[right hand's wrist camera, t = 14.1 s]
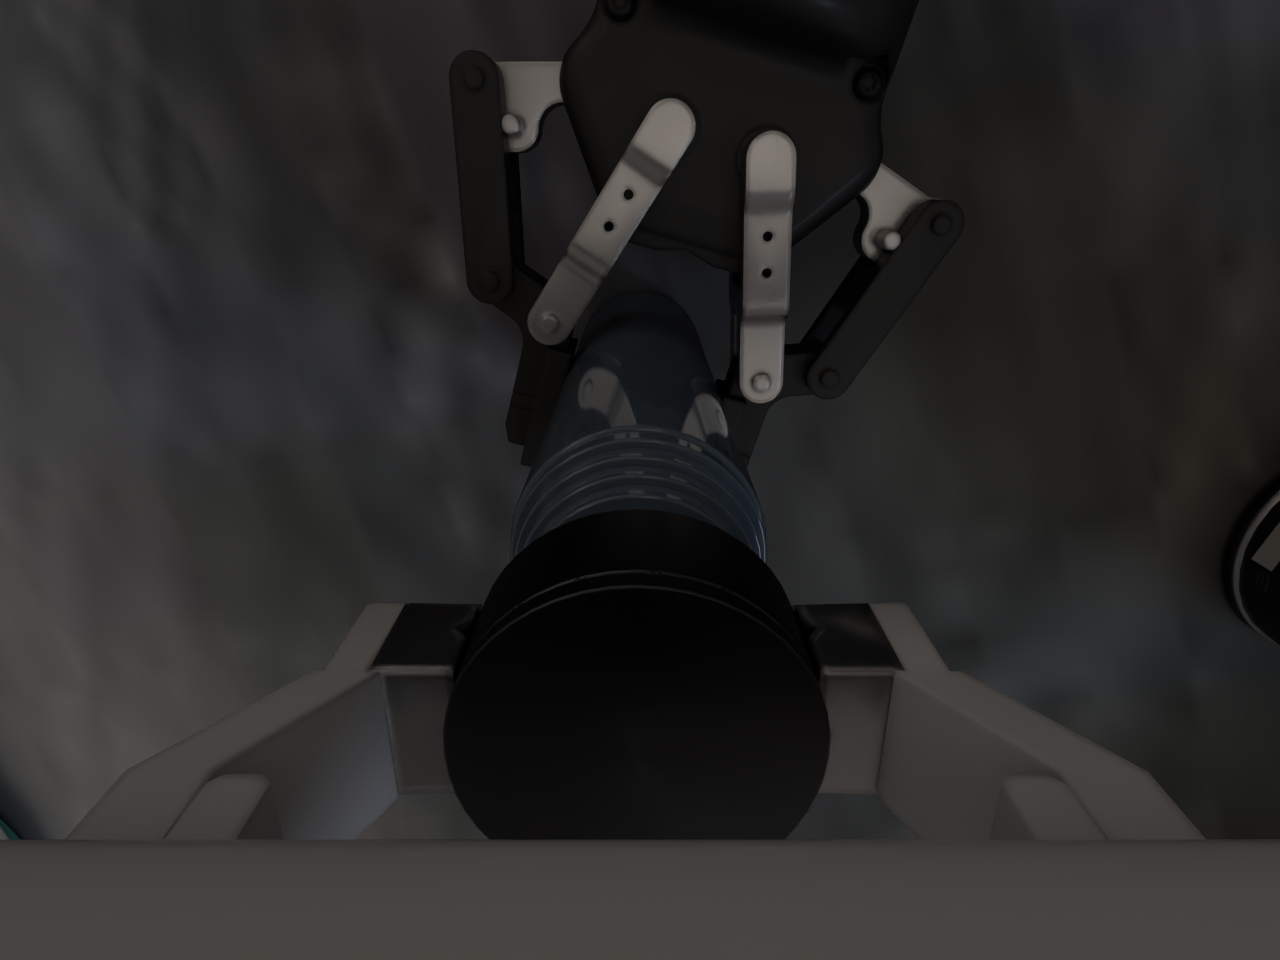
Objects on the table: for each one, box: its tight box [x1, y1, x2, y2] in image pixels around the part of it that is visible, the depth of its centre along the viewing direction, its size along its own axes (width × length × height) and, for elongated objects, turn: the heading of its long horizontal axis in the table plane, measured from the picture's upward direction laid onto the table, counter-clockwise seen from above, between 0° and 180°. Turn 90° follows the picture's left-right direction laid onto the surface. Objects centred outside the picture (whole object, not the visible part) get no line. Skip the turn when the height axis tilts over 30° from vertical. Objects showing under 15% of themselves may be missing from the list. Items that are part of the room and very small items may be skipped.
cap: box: [443, 509, 831, 840], centre depth 9 cm, size 4×4×2 cm
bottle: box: [510, 290, 767, 564], centre depth 19 cm, size 4×4×21 cm
